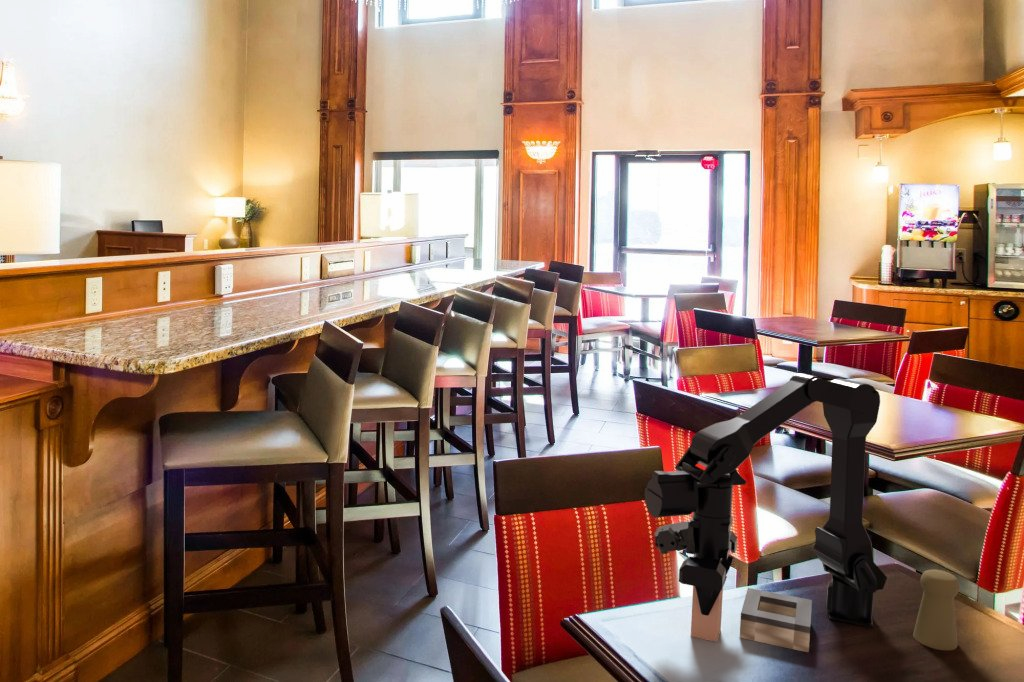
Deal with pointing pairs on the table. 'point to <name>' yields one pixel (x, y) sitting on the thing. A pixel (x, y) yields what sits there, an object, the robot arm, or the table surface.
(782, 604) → the socket block
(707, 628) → the square peg
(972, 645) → the table surface
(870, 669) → the table surface
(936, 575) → the beige pepper mill
